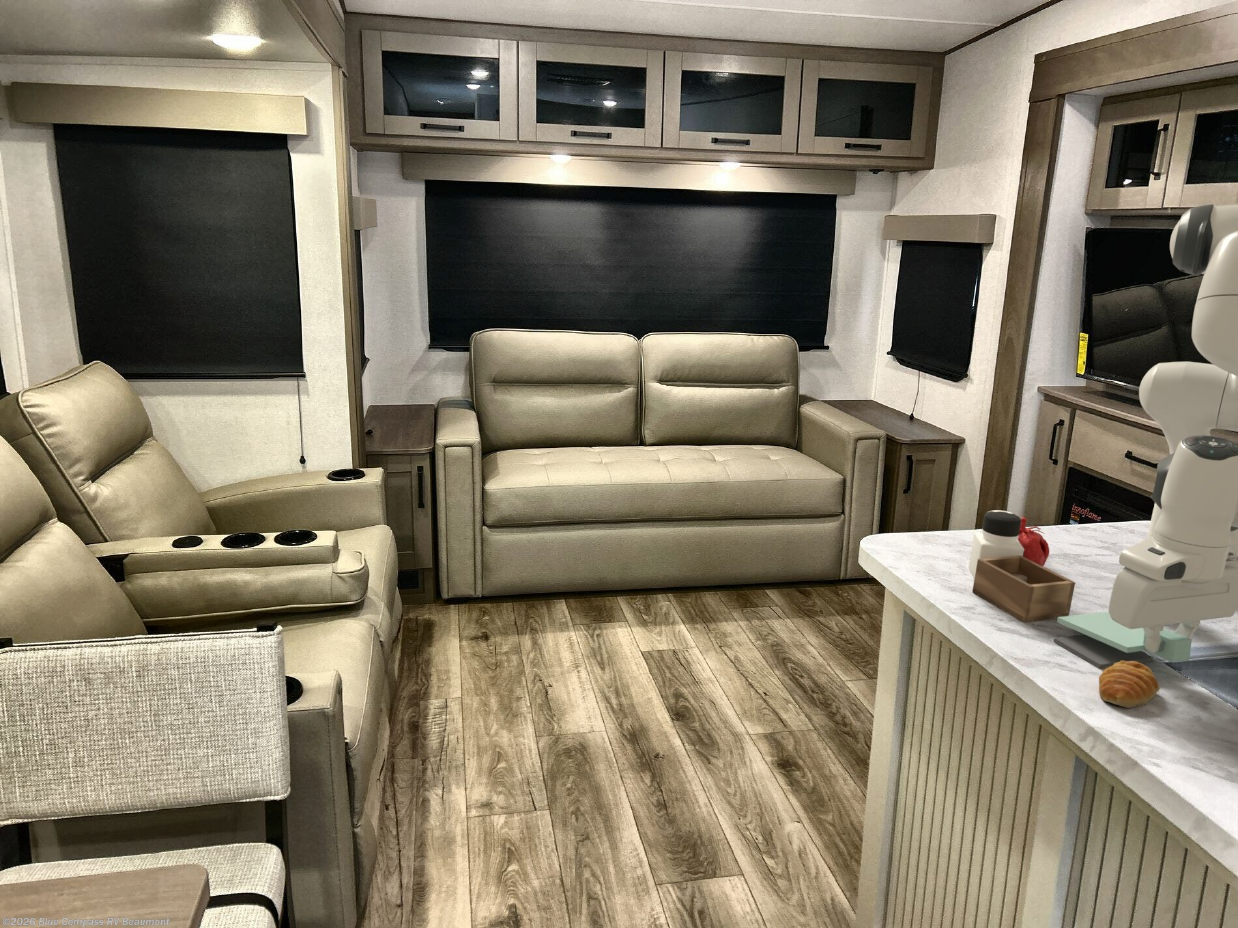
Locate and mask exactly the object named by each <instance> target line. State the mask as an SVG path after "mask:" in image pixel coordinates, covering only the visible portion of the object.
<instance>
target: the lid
mask: <svg viewBox="0 0 1238 928" xmlns="http://www.w3.org/2000/svg"><path fill="white" fill-rule="evenodd" d="M1056 620H1057V621H1056V622H1057V623H1058V624H1060V625H1062V626H1066V627H1067V628H1069V629H1071V630H1074V631H1076V632H1079V633H1080V634H1085V635H1087V636H1090V637H1092V638H1094V639H1097V640H1099V641H1101V642H1103V643H1106V644H1108V645H1110V646H1112V647H1115V648H1117V649H1119V650H1122V651H1124V652H1126V653H1129V652H1137V651H1143V652H1144V651H1145V652H1146V653H1150V654H1153V655H1155V656H1157V657H1159V658H1162V659H1164V660H1167V661H1168V662H1170V663H1178V662H1184V661H1185V662H1186V661H1189V660H1190V655H1191V649H1192V642H1193V639H1192V638H1191V637H1190V638H1187V637H1185V636H1182V635H1180V634H1177V633H1175V632H1174V631H1172V630H1169V629H1167V628H1165V627H1164V628H1163V631H1160V637H1161V639H1162V640H1164V641H1165V645H1164V647H1163V648H1164V649H1163V651H1162V652H1156V653H1152V652H1150V651H1149V650H1147V649H1146V648H1145V642H1146V635H1145V632H1144V629H1143V628H1137V629H1129V628H1126V627H1124V626H1122V625H1120V624H1118V623H1117V622H1115V621H1113V620H1112V619H1111V617H1110V614H1109V611H1100V612H1091V613H1084V614H1083V613H1081V614H1073V615H1069V616H1064V617H1058V618H1056Z"/></svg>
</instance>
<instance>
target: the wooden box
mask: <svg viewBox="0 0 1238 928" xmlns="http://www.w3.org/2000/svg"><path fill="white" fill-rule="evenodd" d="M973 579H974V578H973ZM1075 586H1076V582H1075V581H1073V580H1071V579H1069V578H1067V577H1065V576H1063V575H1061V574H1059V573H1057V572H1055V571H1053V570H1051V569H1048V568H1047V567H1045V566H1041V565H1039V564H1037V563H1035V562H1033V561H1031V560H1029V559H1027V558H1025V557H1023V556H1010V557H998V558H987V559H978V561H977V567H976V573H975V579H974V581H973V586H972V592H971V593H973V594H974V595H976V596H978V597H980V598H982V599H983V600H985V601H986V602H988V603H991V605H994V606H995V607H997V608H998V609H1000V610H1002V611H1004V612H1005V613H1007V614H1009V615H1010V616H1012V617H1014V618H1015V619H1018V620H1019V621H1020V622H1022V623H1030V622H1036V621H1045V620H1046V621H1047V620H1055V619H1056V620H1057V618H1058V617H1064V616H1070V611H1071V607H1072V602H1073V596H1074V592H1075Z"/></svg>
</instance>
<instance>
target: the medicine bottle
mask: <svg viewBox="0 0 1238 928" xmlns="http://www.w3.org/2000/svg"><path fill="white" fill-rule="evenodd" d="M982 522H983V523H982V527H981V528H982V529H981V532H980V531H975V532H974V534H973V539H972V545H971V550H970V557H969V561H968V569H969V571H970V573H971V575H972V577H973V579H975V573H976V567H977V561H978V559H987V558H998V557H1010V556H1023V555H1024V548H1023V547H1022V545H1021V544H1020V542H1019V541H1018V537H1019V532H1020V526H1021V517H1020V516H1019V515H1016V514H1015V513H1013V512H1011V511H1006V510H998V509H997V510H996V509H995V510H990V511H987V512H986V513H984V515H983V521H982Z"/></svg>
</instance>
